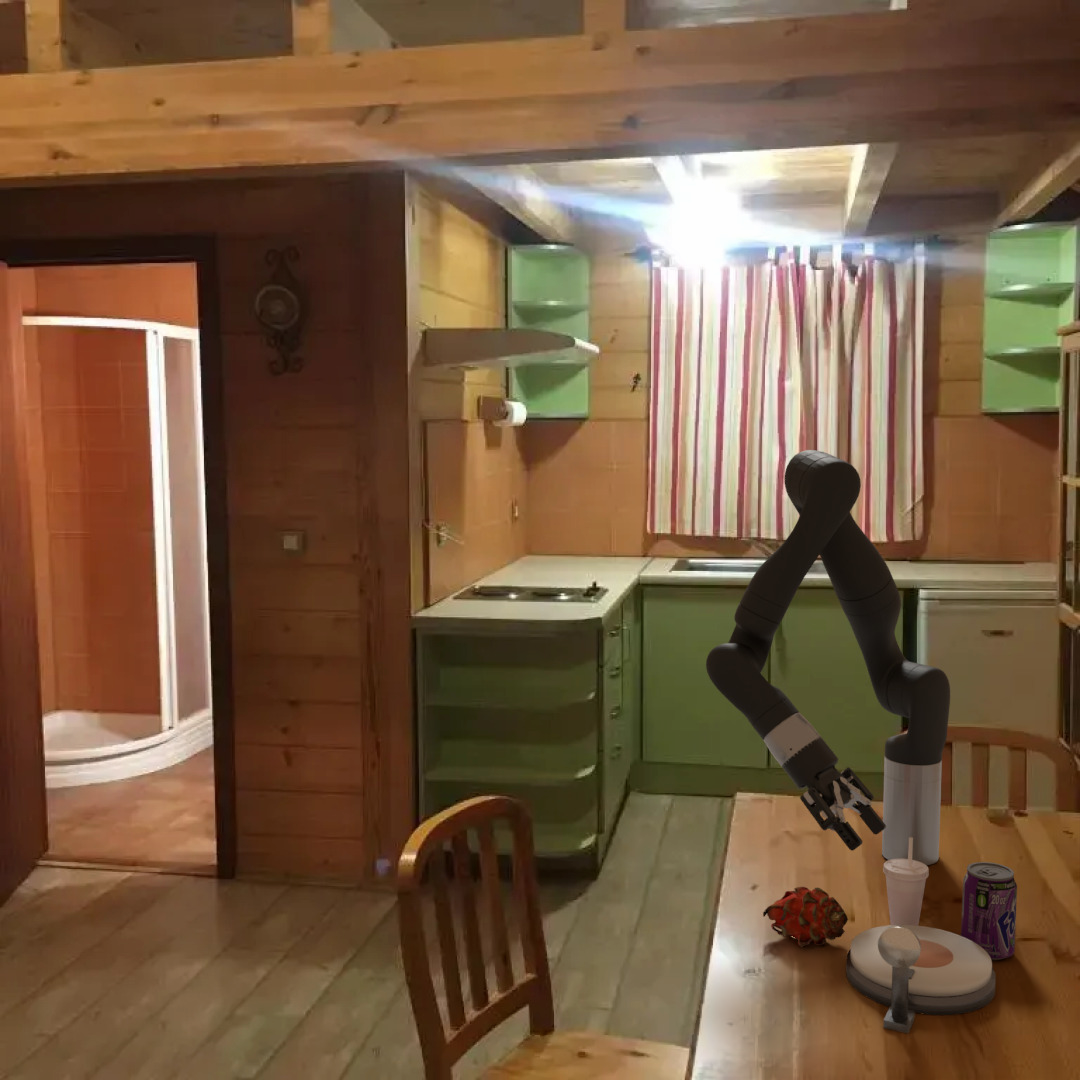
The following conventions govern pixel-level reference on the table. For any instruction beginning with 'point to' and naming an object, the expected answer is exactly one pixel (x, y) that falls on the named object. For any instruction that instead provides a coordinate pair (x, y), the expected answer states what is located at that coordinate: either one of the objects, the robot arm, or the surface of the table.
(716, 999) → the table surface
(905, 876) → the smoothie
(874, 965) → the turntable
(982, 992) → the base
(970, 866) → the beverage can
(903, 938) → the stand
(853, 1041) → the table surface
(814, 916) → the dragon fruit
